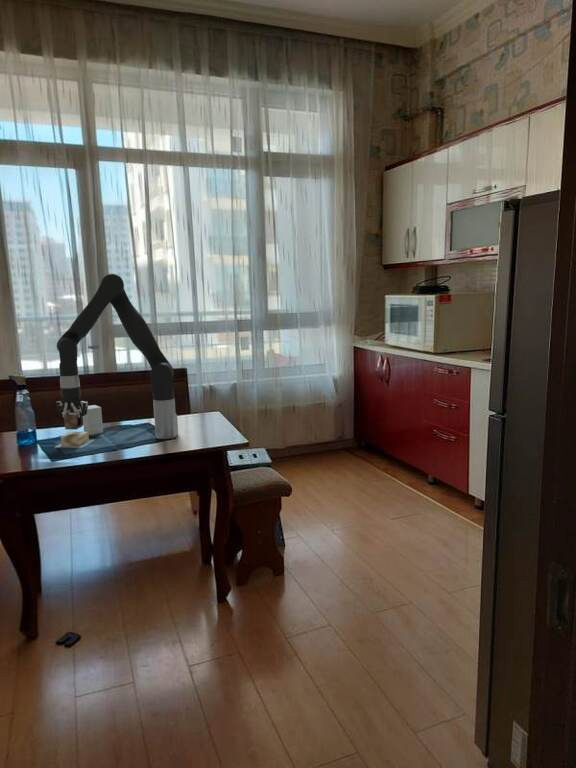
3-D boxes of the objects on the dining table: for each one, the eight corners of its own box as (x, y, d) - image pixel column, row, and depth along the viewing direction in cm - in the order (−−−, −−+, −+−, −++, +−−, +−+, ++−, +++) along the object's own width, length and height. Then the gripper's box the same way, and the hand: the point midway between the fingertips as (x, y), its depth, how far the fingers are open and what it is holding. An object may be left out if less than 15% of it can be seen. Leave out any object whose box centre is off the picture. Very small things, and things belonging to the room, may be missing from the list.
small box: (103, 435, 234) (101, 407, 232) (89, 437, 230) (87, 409, 228) (97, 431, 240) (95, 404, 238) (83, 434, 237) (81, 406, 234)
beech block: (89, 440, 221) (88, 431, 220) (79, 446, 213) (78, 436, 212) (71, 440, 222) (70, 431, 221) (61, 445, 214) (60, 436, 213)
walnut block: (82, 426, 219) (81, 412, 218) (76, 429, 214) (75, 415, 213) (71, 426, 219) (70, 412, 218) (65, 429, 214) (63, 415, 213)
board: (95, 442, 223) (95, 439, 223) (82, 450, 211) (81, 447, 211) (69, 441, 224) (69, 439, 224) (54, 450, 212) (54, 447, 212)
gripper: (91, 384, 216) (94, 423, 219) (58, 384, 218) (62, 423, 221) (82, 387, 209) (85, 428, 212) (48, 387, 211) (52, 427, 213)
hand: (73, 425), depth 216 cm, fingers closed on walnut block, 5 cm apart
